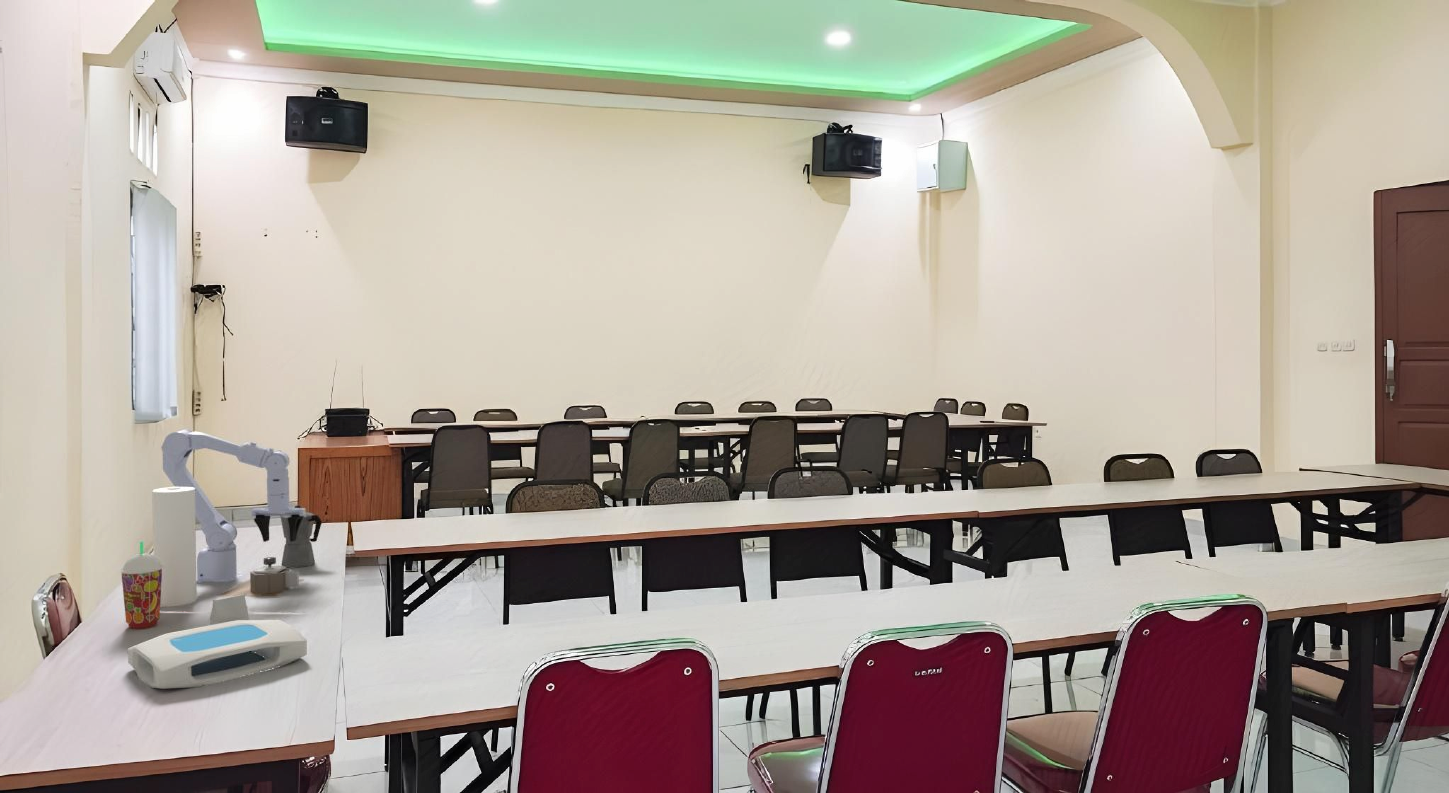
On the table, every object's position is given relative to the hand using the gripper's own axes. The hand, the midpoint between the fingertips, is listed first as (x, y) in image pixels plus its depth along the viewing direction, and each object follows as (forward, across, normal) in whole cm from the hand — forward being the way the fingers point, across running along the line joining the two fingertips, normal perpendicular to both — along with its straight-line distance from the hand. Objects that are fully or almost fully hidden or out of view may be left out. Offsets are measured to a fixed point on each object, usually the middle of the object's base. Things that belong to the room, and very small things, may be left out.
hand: (279, 540), depth 273 cm
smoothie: (+10, +10, +48) cm, 50 cm away
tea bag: (+11, -16, +59) cm, 62 cm away
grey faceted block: (+10, -6, +16) cm, 20 cm away
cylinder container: (+10, +14, +29) cm, 34 cm away
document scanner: (+11, -21, +75) cm, 79 cm away
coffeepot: (+11, +1, -15) cm, 19 cm away
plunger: (+9, -4, +16) cm, 19 cm away
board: (+10, -2, +14) cm, 18 cm away
